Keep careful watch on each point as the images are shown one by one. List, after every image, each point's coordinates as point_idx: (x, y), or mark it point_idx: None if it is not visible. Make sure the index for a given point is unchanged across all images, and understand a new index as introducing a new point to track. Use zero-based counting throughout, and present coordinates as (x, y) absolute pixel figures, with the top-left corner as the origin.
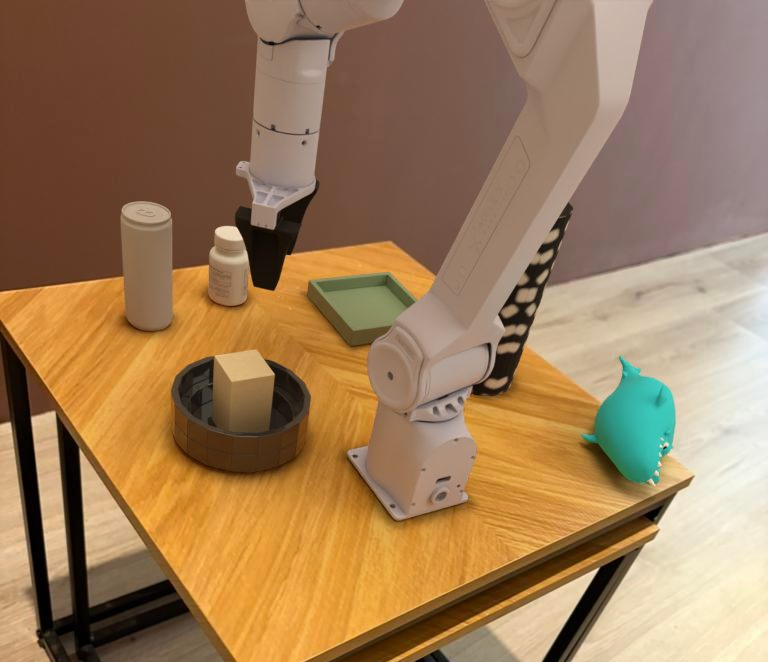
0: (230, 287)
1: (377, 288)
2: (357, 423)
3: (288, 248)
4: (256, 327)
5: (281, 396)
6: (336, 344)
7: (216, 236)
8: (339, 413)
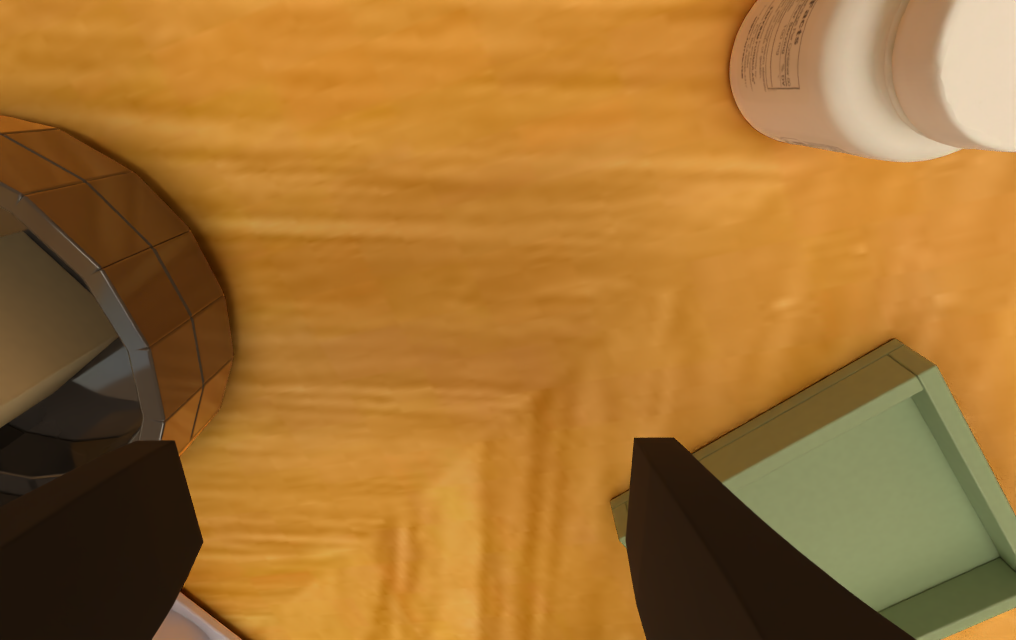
0: (764, 88)
1: (971, 538)
2: (266, 554)
3: (634, 561)
4: (617, 222)
5: (139, 427)
6: (606, 465)
7: None
8: (282, 515)
